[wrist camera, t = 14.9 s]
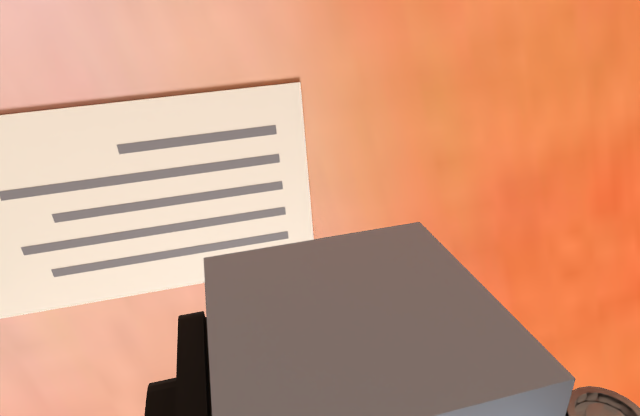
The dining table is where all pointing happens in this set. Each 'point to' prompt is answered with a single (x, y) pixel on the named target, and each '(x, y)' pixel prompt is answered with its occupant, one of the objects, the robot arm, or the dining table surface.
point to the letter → (146, 192)
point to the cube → (369, 333)
